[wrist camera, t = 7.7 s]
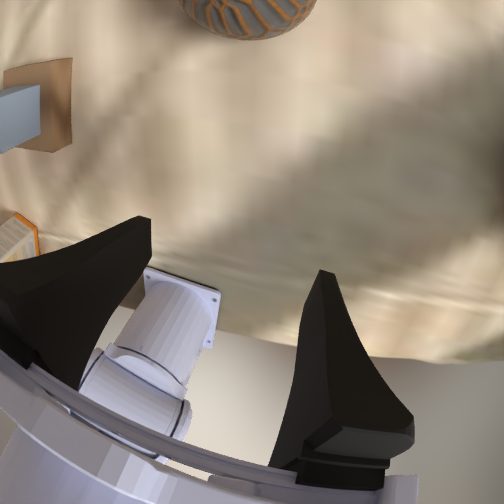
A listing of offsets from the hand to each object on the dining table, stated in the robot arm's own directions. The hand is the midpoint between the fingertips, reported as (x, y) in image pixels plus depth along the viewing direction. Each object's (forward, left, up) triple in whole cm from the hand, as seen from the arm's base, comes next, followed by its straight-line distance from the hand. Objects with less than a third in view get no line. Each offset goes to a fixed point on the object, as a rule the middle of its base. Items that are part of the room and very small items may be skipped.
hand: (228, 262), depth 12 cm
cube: (+3, +22, -7) cm, 23 cm away
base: (+3, +22, -10) cm, 25 cm away
